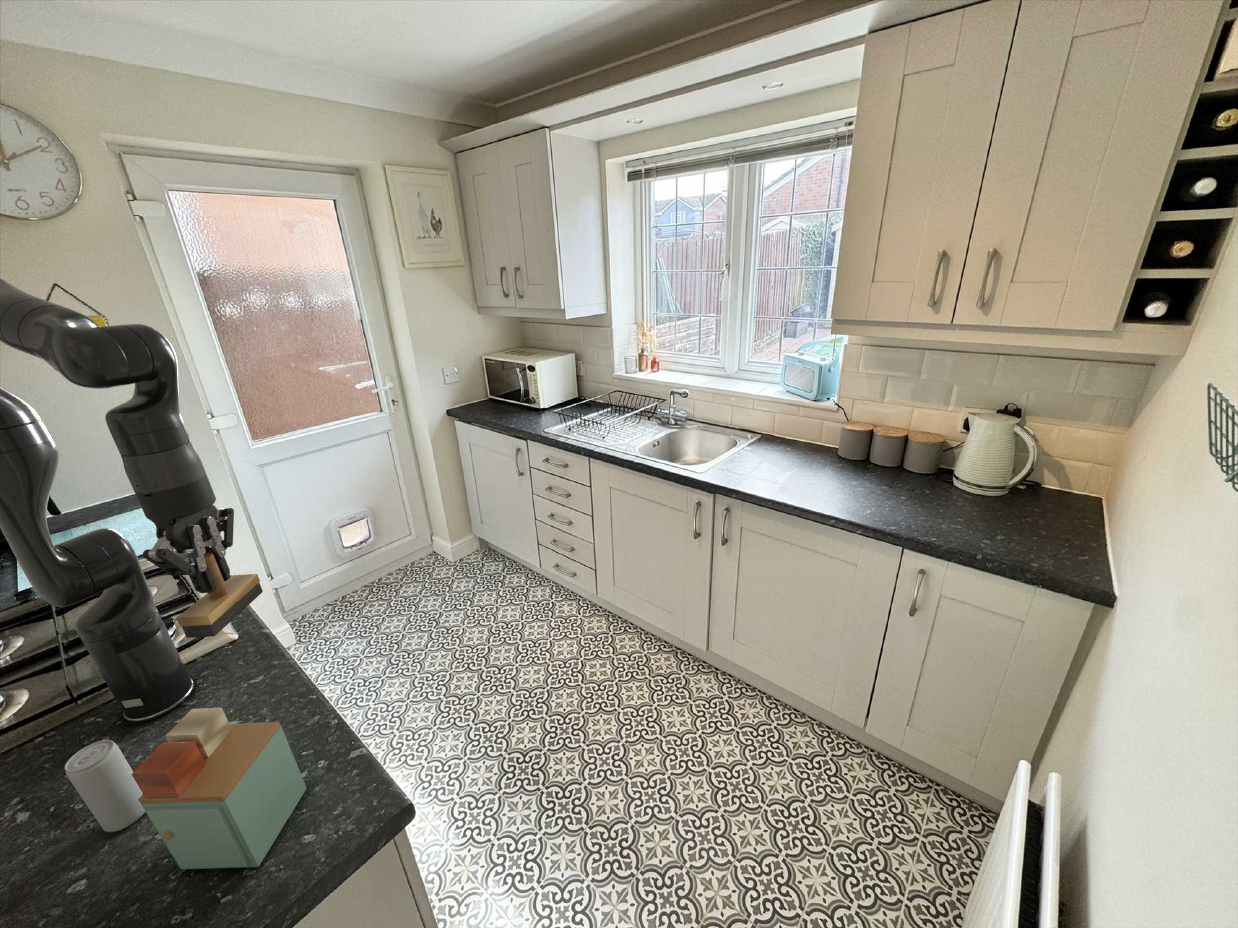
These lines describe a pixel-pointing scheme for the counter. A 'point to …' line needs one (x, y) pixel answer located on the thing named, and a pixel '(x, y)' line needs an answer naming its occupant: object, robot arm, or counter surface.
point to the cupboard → (232, 801)
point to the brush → (219, 602)
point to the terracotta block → (169, 770)
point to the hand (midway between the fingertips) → (215, 585)
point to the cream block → (202, 729)
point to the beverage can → (106, 785)
